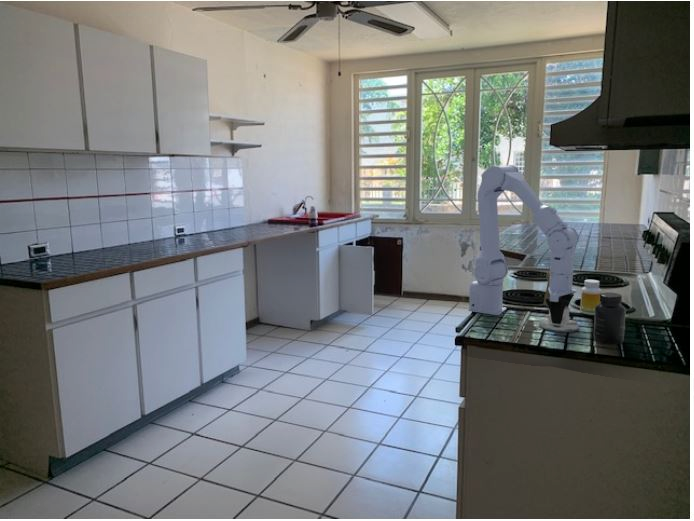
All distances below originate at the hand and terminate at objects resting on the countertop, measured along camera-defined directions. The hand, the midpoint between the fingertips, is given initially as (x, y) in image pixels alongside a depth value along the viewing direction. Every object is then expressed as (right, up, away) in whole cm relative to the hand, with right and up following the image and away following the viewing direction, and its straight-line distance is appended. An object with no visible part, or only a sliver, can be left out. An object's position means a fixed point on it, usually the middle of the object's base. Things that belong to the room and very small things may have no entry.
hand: (558, 320), depth 137 cm
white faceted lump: (0, -1, 0) cm, 1 cm away
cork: (+7, +2, +21) cm, 22 cm away
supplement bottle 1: (+14, +1, +12) cm, 19 cm away
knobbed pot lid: (0, -2, 0) cm, 2 cm away
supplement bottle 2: (+8, -4, -11) cm, 14 cm away
